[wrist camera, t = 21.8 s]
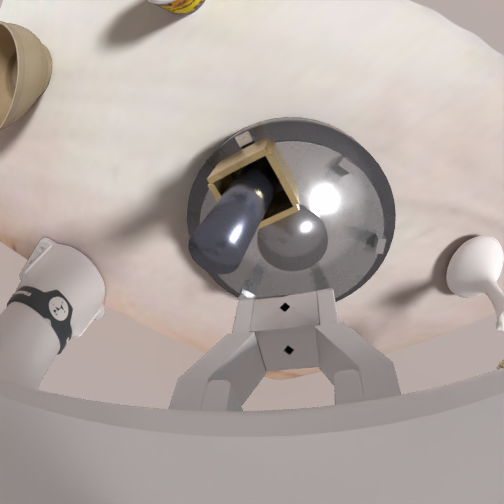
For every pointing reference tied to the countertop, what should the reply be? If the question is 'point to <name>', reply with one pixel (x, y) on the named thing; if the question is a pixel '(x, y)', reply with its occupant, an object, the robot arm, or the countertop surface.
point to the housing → (308, 132)
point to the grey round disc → (304, 221)
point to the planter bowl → (21, 71)
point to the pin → (234, 219)
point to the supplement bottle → (179, 5)
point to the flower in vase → (478, 273)
